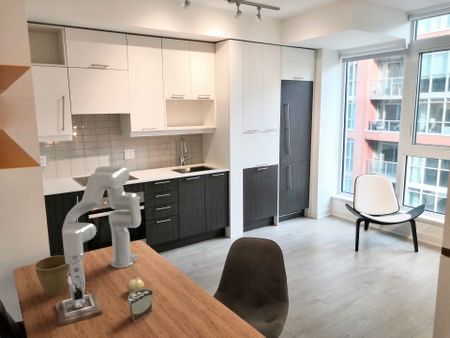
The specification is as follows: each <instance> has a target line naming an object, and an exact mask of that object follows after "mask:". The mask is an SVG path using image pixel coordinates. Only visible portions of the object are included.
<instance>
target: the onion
mask: <svg viewBox="0 0 450 338" xmlns="http://www.w3.org/2000/svg"><path fill="white" fill-rule="evenodd" d="M139 289H145V283H144V281H143V280H142V279H141V278H140V277H138V276H136V278H133V279H131V280H130V281H129V282H128V283H127V285H126V290H127V291H128V293H129V294H131V293H132V292H134V291H136V290H139Z"/></svg>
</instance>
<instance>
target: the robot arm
mask: <svg viewBox="0 0 450 338" xmlns="http://www.w3.org/2000/svg"><path fill="white" fill-rule="evenodd" d="M129 179H130V171H129V169H128V168H127V167H126V166H108V165H107V166H106V165H105V166H104V165H103V166H98V167H97V168H95V171H94V173H91V174H90V176H89V178H88V180H87V183H86V186H85V188H84V193H83V196H82V199H81V200H80V201H79V202H78V203H76V204H75V205H74V206H73V207H72V208H71V209H70V210H69V211H68V212H67V214H66V215H65V219H64V222H63V225H62V229H61V233H62V242H63V243H62V246H63V256H65V263H67V264H68V266H69V271H68V273H69V274H70V277H71V282H72V285H73V286H74V289H75V291H74V297H75V300H79V299H82V298H83V293H82V287H81V283H84V276H85V273H84V274H83V271H84V268H83V267H84V266H83V261H84V260H85V257H84V256H85V254H84V243H86V242H88V241H90V240H92V239H93V238H94V237H95V236H96V233H97V227H96V225H95V224H93V223H90V222H77V221H78V219H79V218H80V216H82V215H83V214H86V213H88V212H89V211H92V210H94V209H97V208H99V207H100V206H101V204H102V200H103V197H104V194H105V191H107V198H108V202H109V203H108V204H109V206H110V208H111V209H113V211H111V212H110V213H109V214H108V223H109V225H110V226H109V227H110V230H111V242H112V257H113V259H112V261H111V262H110V266H111V267H113V268H114V269H115V268H116V269H121V268H123V269H124V268H127V267H130V266H132V265H133V264H134V262H135V260H134V259H139V258H140V254H136V253H133V254H131V239H130V232H129V231H130V230H129V229H128V228H134V229H136V228H138V227H139V226H141V223H142V215H141V214H142V213H141V206H140V200H139V199H140V198H139V196H138V194H136V193H135V192H126V191H125V190H124V189H125V188H124V185H126V183H127V182H128V181H129ZM75 278H76V280H75ZM79 280H80V282H79ZM75 281H76V284H75ZM76 286H77V287H76Z"/></svg>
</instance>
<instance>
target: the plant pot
mask: <svg viewBox="0 0 450 338" xmlns="http://www.w3.org/2000/svg"><path fill="white" fill-rule="evenodd" d="M33 266H34V270H35V273H36V276H37V278H38V281H39V283H40V286H41V287H42V289H43V290H44V292H45V294H46V295H47V296H48V297H50V298H52V297H58V296H61V295H62V294H63V293H64V292H65V288H66V286H67V283H68V273H69V266H68V264H67V263H65V256H64V255H52V256H48V257H44V258H41V259H40V260H38V261H37V262H36V263H35V264H34V265H33Z"/></svg>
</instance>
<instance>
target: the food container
mask: <svg viewBox="0 0 450 338" xmlns="http://www.w3.org/2000/svg"><path fill="white" fill-rule="evenodd" d="M154 294H155V292H154V290H153V289H150V288H143V289H139V290H136V291H134V292H132V293H129V295H128V297H127V305H128V306H129V310H130V311H129V312H130V317H131V318H130V319H131V321H132V322H133V323H136V322H137V321H139V320H141V319H143V318H145V317H146V316H147V315H150V314H152V313H153V297H154V296H153V295H154Z"/></svg>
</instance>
